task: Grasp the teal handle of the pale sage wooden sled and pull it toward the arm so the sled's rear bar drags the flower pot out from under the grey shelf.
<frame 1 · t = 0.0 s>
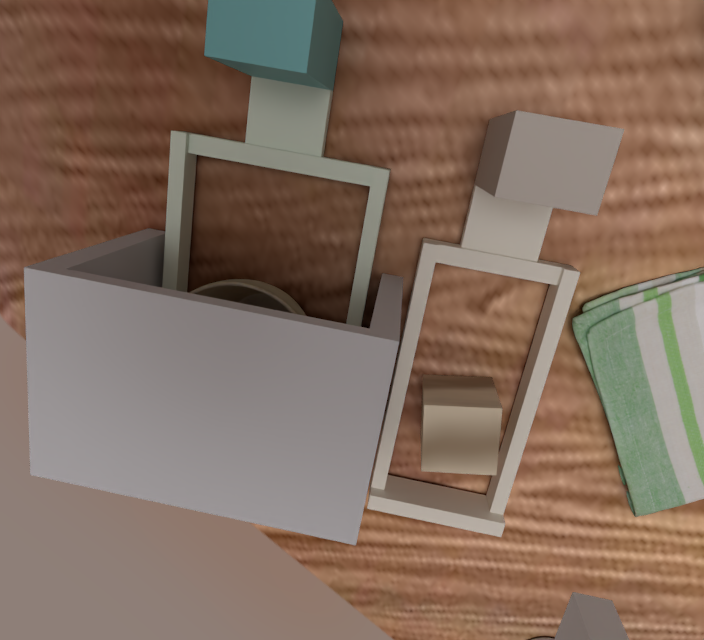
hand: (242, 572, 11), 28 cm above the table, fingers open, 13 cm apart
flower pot: (266, 323, 40), on the table
open frame with post: (483, 358, 33), point 5 cm above the table, slide at 0.0 cm
birch block: (455, 405, 40), resting in open frame with post
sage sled: (257, 251, 33), point 5 cm above the table, slide at 0.0 cm
shelf: (264, 330, 40), on the table
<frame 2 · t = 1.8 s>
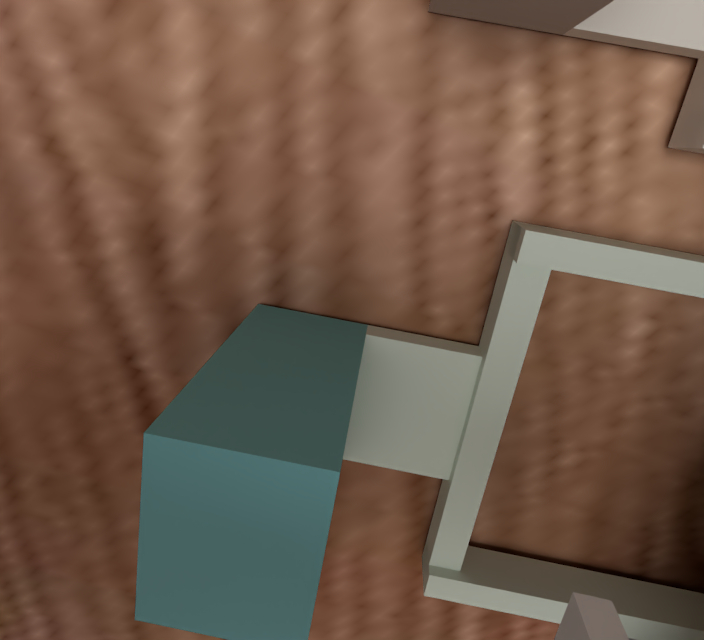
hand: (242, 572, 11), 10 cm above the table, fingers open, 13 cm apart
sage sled: (684, 522, 15), point 5 cm above the table, slide at 0.0 cm
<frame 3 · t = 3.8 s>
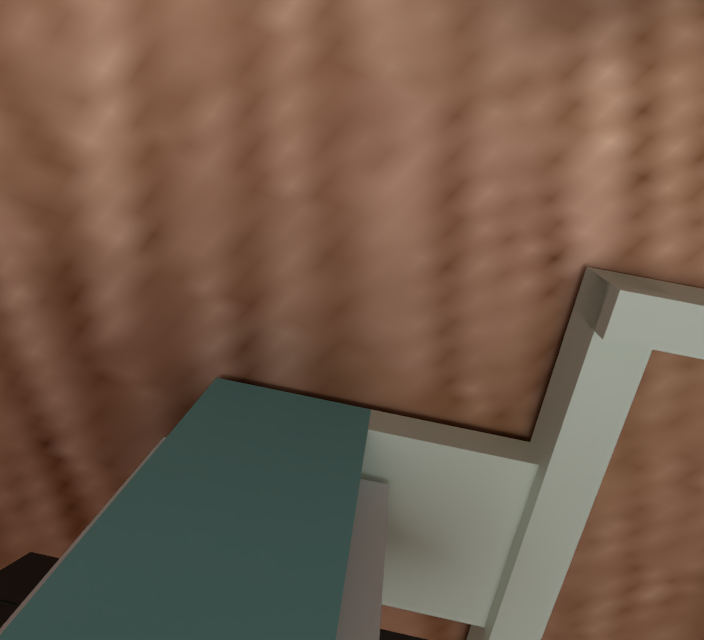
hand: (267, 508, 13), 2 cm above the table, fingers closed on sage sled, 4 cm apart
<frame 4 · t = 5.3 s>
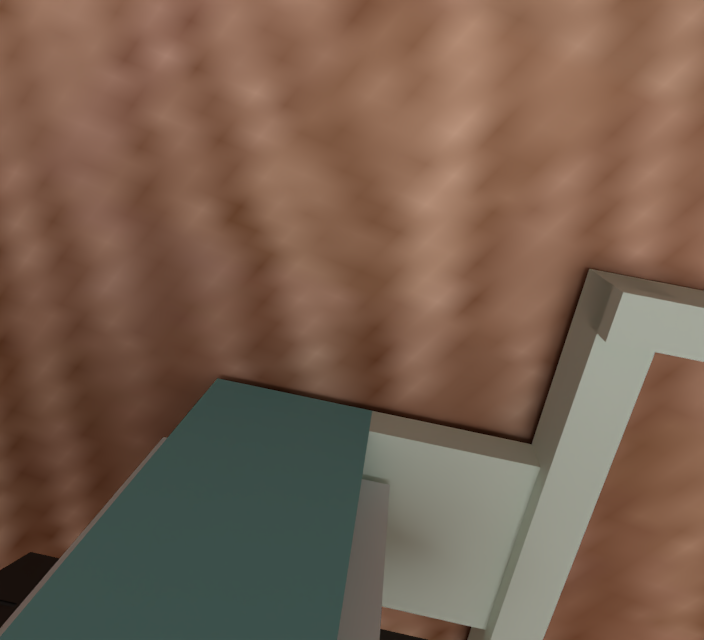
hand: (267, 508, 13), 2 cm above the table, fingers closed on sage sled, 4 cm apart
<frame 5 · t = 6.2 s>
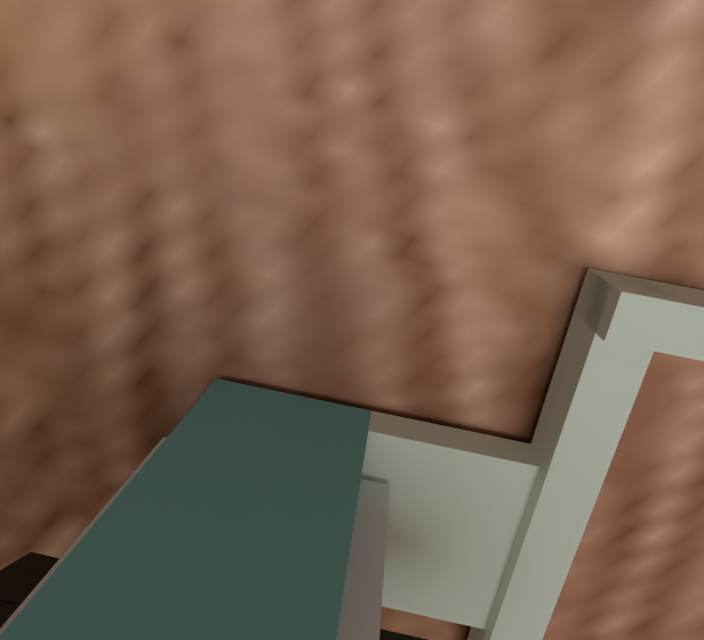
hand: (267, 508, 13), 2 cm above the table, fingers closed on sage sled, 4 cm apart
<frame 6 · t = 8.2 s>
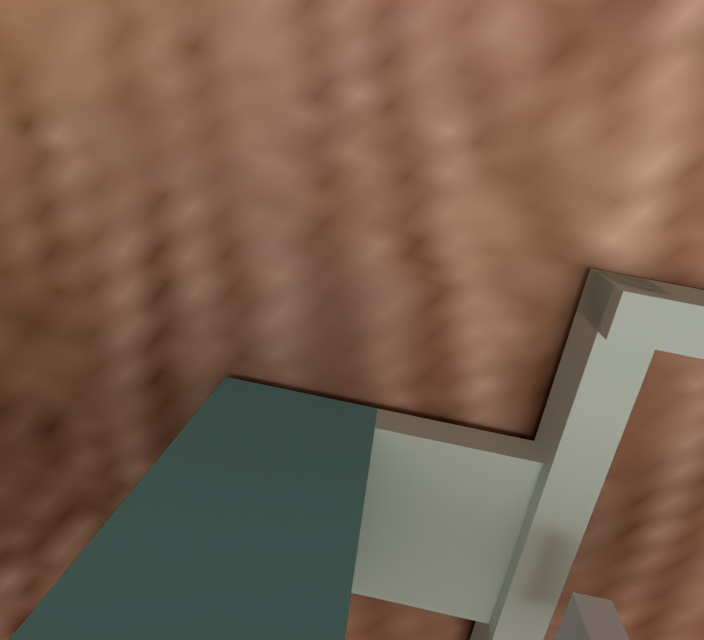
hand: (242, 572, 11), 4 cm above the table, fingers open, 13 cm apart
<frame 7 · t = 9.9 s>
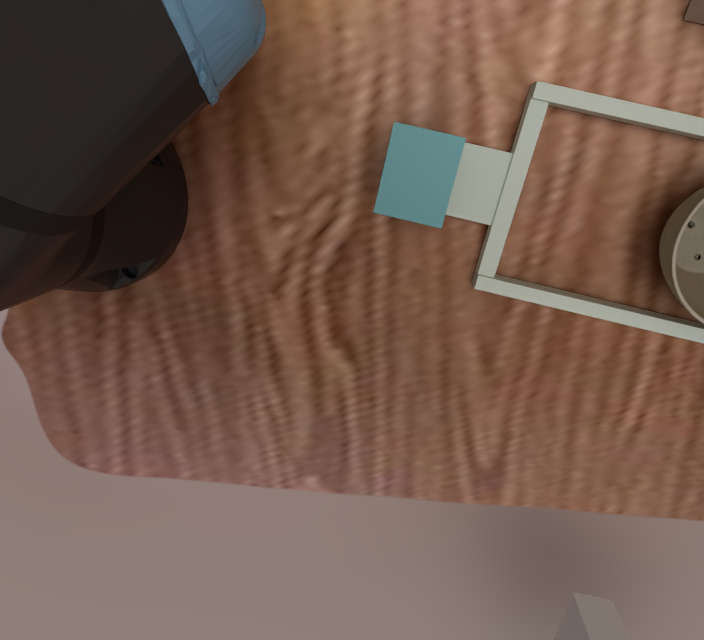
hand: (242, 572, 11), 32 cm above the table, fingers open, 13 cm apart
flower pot: (700, 235, 38), on the table, touching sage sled
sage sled: (604, 216, 34), point 5 cm above the table, slide at 12.0 cm, touching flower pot
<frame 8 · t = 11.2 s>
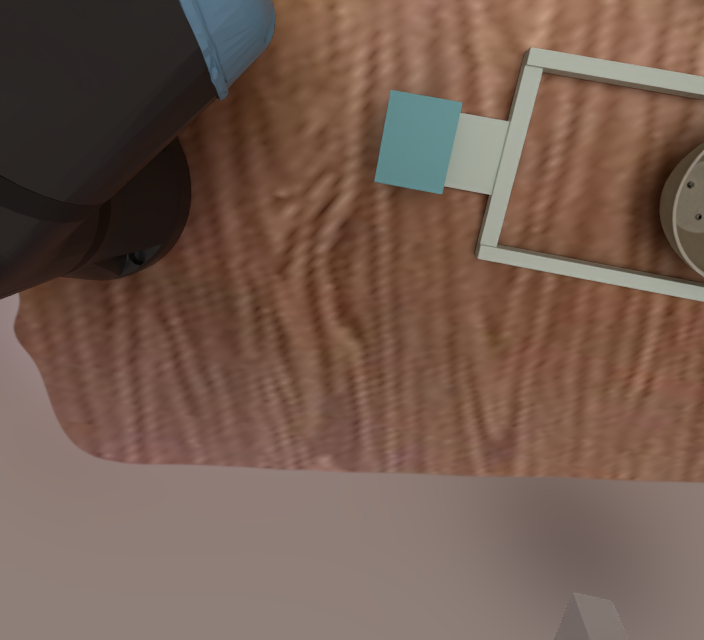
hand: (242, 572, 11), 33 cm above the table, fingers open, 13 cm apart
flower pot: (700, 195, 38), on the table, touching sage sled
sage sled: (602, 177, 34), point 5 cm above the table, slide at 12.0 cm, touching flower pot
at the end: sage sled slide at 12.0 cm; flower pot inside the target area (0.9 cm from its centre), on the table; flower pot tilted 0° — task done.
